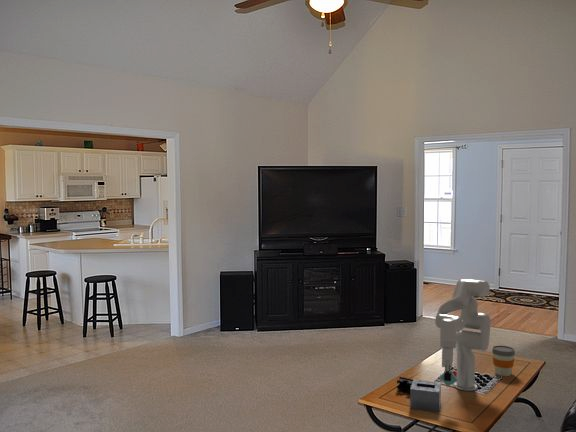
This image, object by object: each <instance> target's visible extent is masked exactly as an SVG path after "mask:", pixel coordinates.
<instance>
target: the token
mask: <svg viewBox="0 0 576 432" xmlns="http://www.w3.org/2000/svg"><path fill="white" fill-rule="evenodd" d="M450 373H451V381H445V380H444V372H443V373H441V374H440V375H439V377H440V379H441V380H442V382H443V383H444V384H445V385H446V388H447V387H450V386H451V385H454V383H455V382H456V381H458V379H457V376H456V375H455V374H454V372H453V371H452V370H450Z"/></svg>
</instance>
